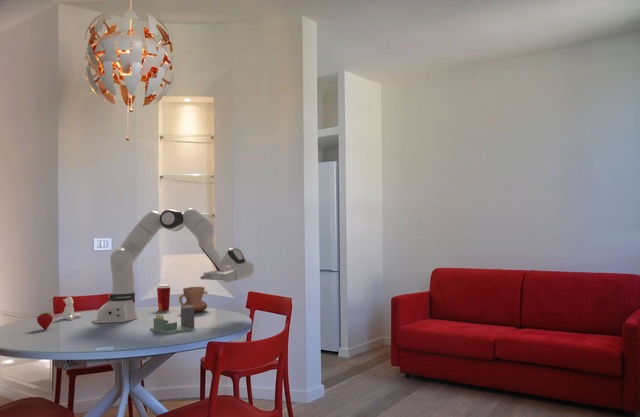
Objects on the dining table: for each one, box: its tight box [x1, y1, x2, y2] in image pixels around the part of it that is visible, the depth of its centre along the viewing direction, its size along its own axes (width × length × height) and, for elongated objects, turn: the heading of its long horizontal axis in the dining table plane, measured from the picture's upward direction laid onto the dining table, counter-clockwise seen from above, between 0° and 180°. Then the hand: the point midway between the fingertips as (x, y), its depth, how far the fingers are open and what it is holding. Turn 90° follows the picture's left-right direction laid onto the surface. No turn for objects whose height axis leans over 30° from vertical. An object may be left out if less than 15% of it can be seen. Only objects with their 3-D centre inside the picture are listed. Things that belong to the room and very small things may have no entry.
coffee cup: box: [156, 283, 171, 312], centre depth 317 cm, size 8×8×15 cm
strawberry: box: [36, 310, 54, 330], centre depth 262 cm, size 6×8×10 cm
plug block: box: [180, 305, 195, 329], centre depth 263 cm, size 5×5×11 cm
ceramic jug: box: [178, 286, 209, 314], centre depth 309 cm, size 18×14×14 cm
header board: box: [149, 313, 191, 335], centre depth 255 cm, size 12×16×8 cm
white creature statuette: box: [61, 296, 82, 321], centre depth 292 cm, size 10×9×12 cm
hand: (206, 278), depth 272 cm, fingers open, 8 cm apart
